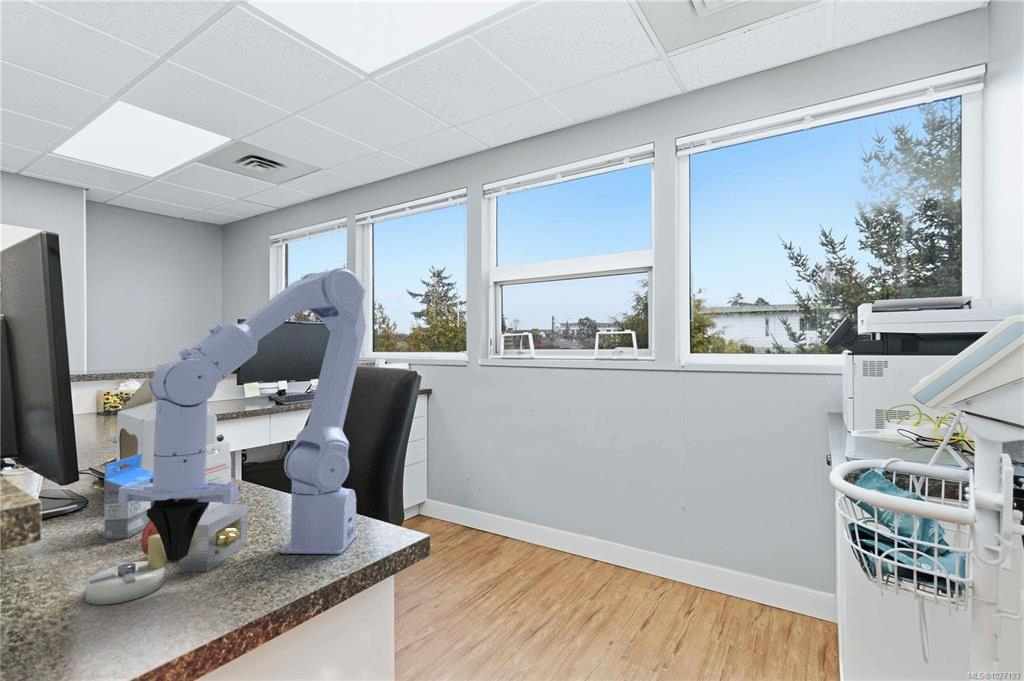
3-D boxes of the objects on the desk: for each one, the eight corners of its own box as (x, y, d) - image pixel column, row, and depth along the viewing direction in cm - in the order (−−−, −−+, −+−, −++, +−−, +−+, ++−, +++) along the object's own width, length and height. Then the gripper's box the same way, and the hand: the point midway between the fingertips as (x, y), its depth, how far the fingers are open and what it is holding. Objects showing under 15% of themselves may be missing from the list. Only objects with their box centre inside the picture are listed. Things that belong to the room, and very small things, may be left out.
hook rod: (250, 547, 77) (251, 509, 77) (227, 563, 71) (228, 522, 71) (169, 546, 77) (170, 509, 77) (140, 562, 71) (141, 521, 71)
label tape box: (127, 539, 81) (130, 463, 81) (101, 540, 81) (103, 464, 81) (161, 521, 90) (163, 453, 90) (138, 521, 89) (139, 453, 90)
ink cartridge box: (207, 519, 91) (209, 439, 91) (231, 521, 90) (233, 440, 90) (166, 536, 82) (168, 447, 83) (191, 538, 81) (194, 448, 82)
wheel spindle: (139, 570, 64) (139, 563, 64) (128, 576, 63) (128, 569, 63) (125, 570, 64) (125, 563, 64) (113, 576, 63) (114, 569, 63)
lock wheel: (87, 611, 58) (89, 560, 58) (82, 588, 63) (84, 542, 64) (171, 588, 63) (173, 542, 64) (160, 569, 69) (161, 526, 69)
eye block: (246, 544, 79) (247, 503, 79) (207, 571, 69) (208, 525, 69) (221, 544, 79) (222, 503, 79) (178, 571, 69) (180, 524, 69)
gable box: (215, 496, 106) (218, 365, 107) (140, 510, 96) (144, 366, 97) (183, 478, 121) (186, 364, 121) (114, 489, 111) (118, 364, 112)
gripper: (99, 458, 61) (95, 570, 60) (217, 459, 60) (214, 572, 60) (143, 447, 68) (140, 548, 67) (248, 448, 67) (246, 549, 67)
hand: (177, 558), depth 64 cm, fingers closed
